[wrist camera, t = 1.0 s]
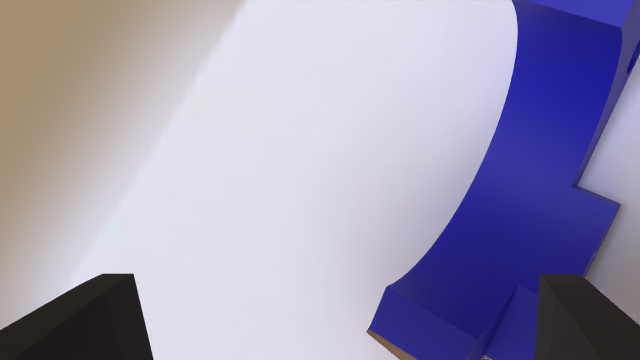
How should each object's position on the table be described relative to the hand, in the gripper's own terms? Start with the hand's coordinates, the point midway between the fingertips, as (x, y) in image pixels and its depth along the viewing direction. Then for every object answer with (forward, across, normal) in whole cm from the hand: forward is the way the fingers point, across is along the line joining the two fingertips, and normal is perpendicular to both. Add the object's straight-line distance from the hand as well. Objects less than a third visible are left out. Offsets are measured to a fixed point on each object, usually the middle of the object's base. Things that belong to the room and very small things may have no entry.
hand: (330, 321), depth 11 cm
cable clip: (+12, -6, +2) cm, 14 cm away
